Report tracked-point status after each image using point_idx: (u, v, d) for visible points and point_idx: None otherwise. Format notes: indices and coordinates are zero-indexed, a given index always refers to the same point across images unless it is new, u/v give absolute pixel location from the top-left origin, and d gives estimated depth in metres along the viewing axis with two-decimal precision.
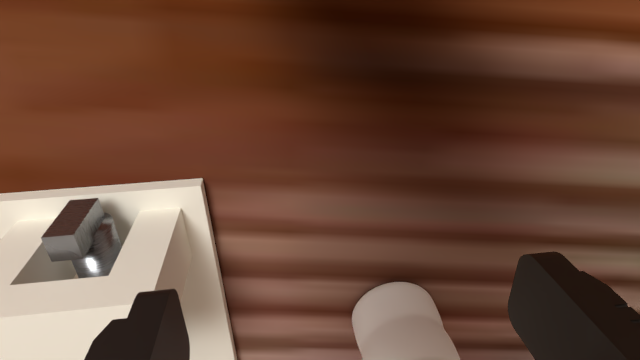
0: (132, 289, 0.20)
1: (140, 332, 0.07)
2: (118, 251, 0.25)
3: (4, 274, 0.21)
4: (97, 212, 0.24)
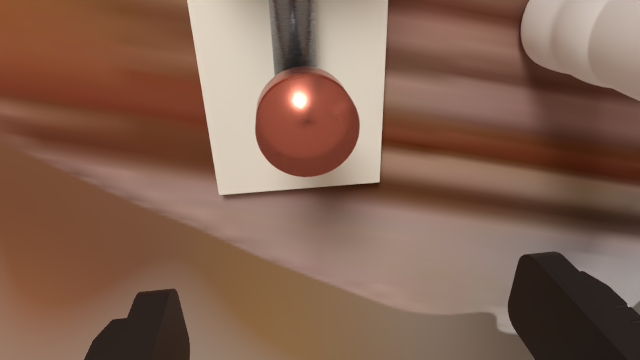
0: None
1: (140, 332, 0.07)
2: None
3: None
4: None
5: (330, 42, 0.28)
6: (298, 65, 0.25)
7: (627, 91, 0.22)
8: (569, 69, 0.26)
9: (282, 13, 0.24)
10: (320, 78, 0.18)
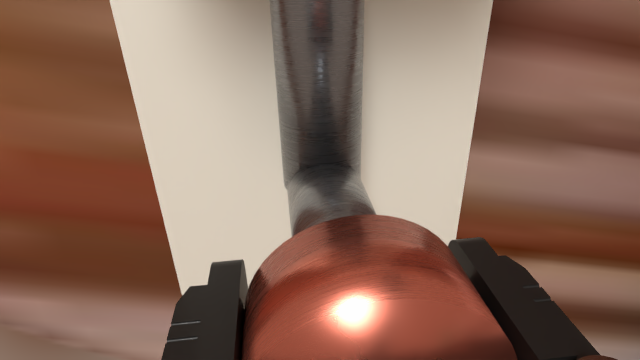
0: None
1: (223, 294, 0.08)
2: None
3: None
4: None
5: (381, 101, 0.16)
6: (330, 158, 0.13)
7: None
8: None
9: (301, 63, 0.12)
10: (428, 294, 0.06)
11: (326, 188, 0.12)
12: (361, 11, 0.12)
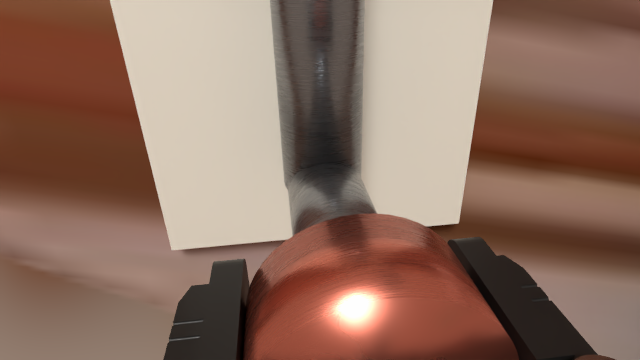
0: None
1: (225, 294, 0.08)
2: None
3: None
4: None
5: None
6: (330, 158, 0.13)
7: None
8: None
9: (301, 62, 0.12)
10: (429, 293, 0.06)
11: (326, 187, 0.12)
12: (361, 10, 0.12)
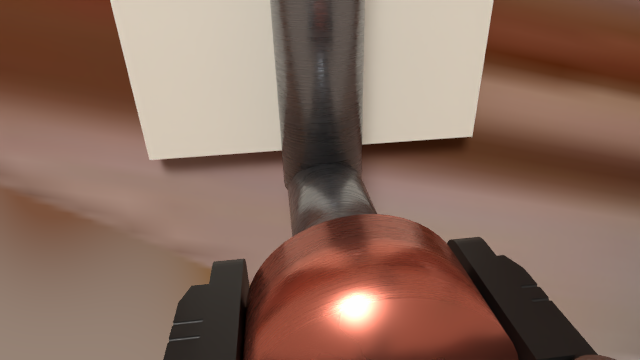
0: None
1: (224, 294, 0.08)
2: None
3: None
4: None
5: None
6: (330, 158, 0.13)
7: None
8: None
9: (301, 63, 0.12)
10: (429, 294, 0.06)
11: (326, 188, 0.12)
12: (361, 11, 0.12)
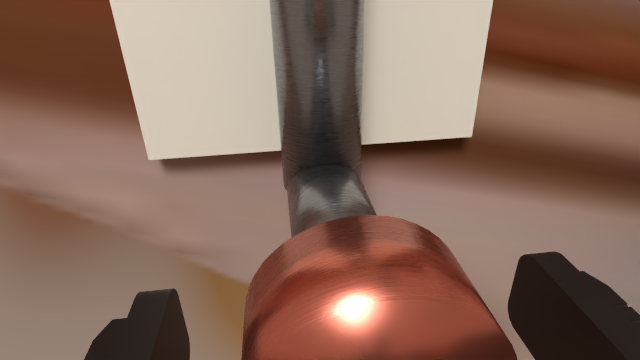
0: None
1: (140, 332, 0.07)
2: None
3: None
4: None
5: None
6: (330, 159, 0.13)
7: None
8: None
9: (300, 64, 0.12)
10: (428, 295, 0.06)
11: (325, 188, 0.12)
12: (361, 12, 0.12)
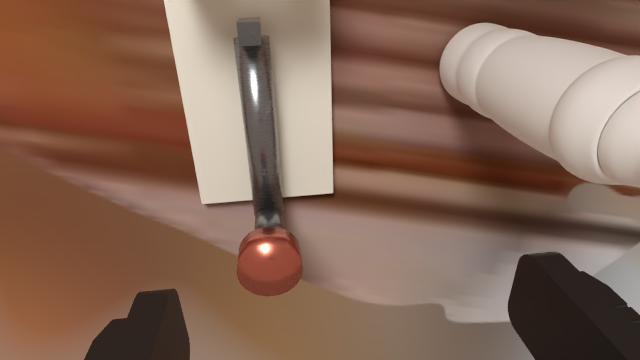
0: None
1: (140, 332, 0.07)
2: None
3: None
4: (260, 25, 0.32)
5: (287, 84, 0.36)
6: (269, 206, 0.37)
7: (500, 125, 0.30)
8: (469, 105, 0.34)
9: (257, 177, 0.36)
10: (276, 243, 0.30)
11: (265, 217, 0.36)
12: (277, 160, 0.36)
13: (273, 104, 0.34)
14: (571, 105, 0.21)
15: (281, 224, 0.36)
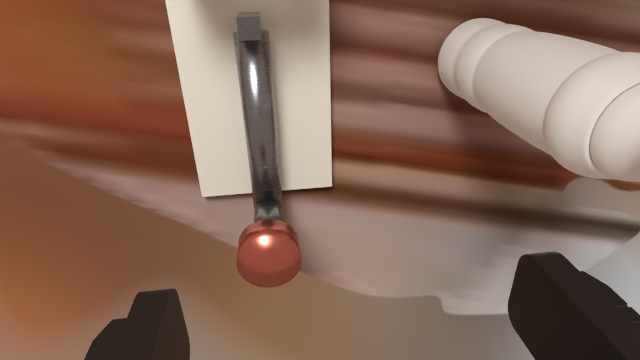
0: None
1: (140, 332, 0.07)
2: (270, 56, 0.33)
3: None
4: None
5: (286, 78, 0.36)
6: (268, 199, 0.38)
7: (496, 120, 0.30)
8: (467, 100, 0.34)
9: (256, 170, 0.36)
10: (275, 235, 0.31)
11: (265, 210, 0.36)
12: (276, 153, 0.36)
13: (272, 98, 0.34)
14: (564, 100, 0.22)
15: (280, 217, 0.36)
